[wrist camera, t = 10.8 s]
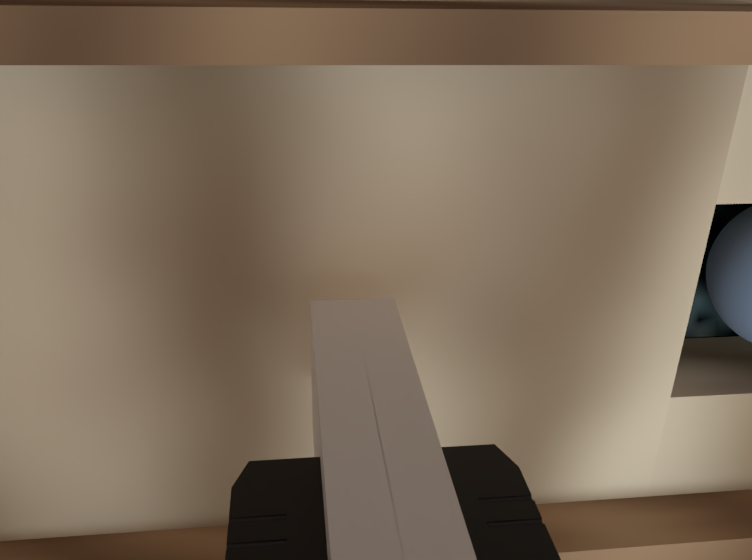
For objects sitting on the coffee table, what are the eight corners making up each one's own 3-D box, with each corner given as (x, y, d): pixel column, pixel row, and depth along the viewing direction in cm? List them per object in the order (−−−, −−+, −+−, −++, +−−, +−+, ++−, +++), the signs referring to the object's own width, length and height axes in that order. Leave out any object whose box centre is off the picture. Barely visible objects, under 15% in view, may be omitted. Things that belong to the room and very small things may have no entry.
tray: (-199, 505, 18) (-323, 649, 14) (-427, -18, 12) (-716, -2, 9) (905, 436, 21) (1033, 540, 17) (1089, -2, 16) (1325, 16, 12)
